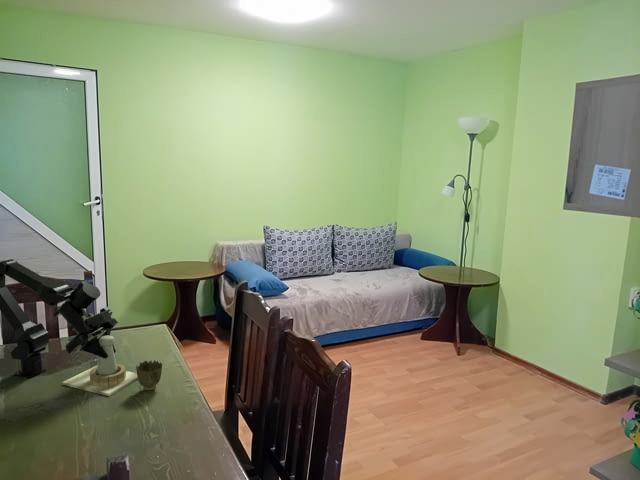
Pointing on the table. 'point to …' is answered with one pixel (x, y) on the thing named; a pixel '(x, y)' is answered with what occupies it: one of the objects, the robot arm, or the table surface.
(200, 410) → the table surface
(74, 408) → the table surface
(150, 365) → the cup
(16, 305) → the robot arm
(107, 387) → the socket
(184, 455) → the table surface
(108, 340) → the salt shaker
